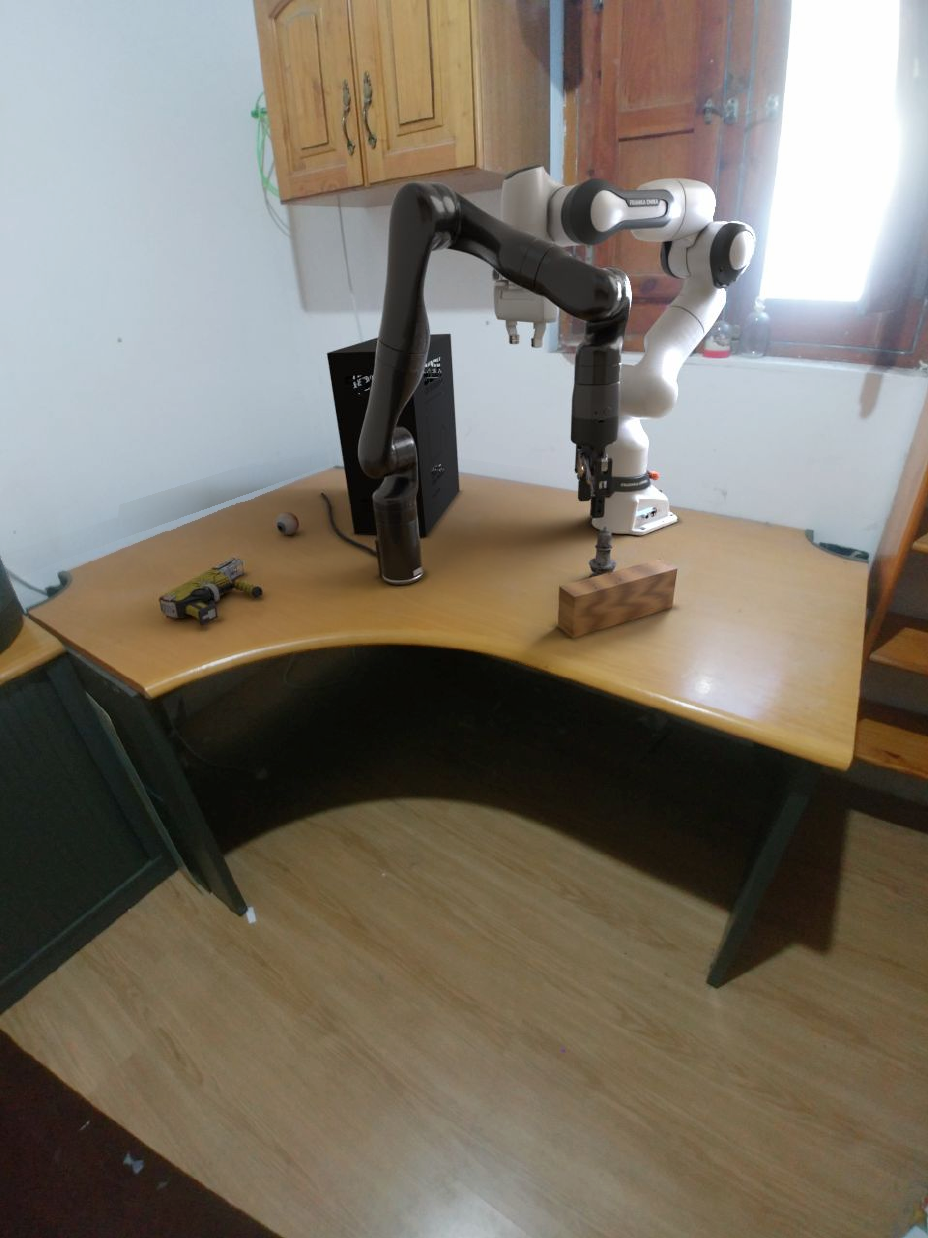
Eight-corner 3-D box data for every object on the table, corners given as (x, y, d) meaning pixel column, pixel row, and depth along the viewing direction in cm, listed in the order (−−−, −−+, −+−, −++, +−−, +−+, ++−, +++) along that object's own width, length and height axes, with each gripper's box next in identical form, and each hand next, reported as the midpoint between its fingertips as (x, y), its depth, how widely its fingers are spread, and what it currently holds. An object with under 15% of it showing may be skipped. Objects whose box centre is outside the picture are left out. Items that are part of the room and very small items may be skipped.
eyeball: (273, 537, 164) (268, 516, 161) (287, 528, 169) (282, 508, 166) (291, 539, 161) (286, 518, 158) (305, 530, 166) (301, 510, 163)
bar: (655, 597, 124) (659, 558, 120) (672, 607, 120) (677, 568, 116) (557, 626, 116) (559, 586, 112) (572, 638, 112) (574, 597, 108)
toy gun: (284, 566, 139) (229, 555, 143) (214, 612, 119) (152, 597, 123) (286, 584, 141) (232, 573, 145) (217, 632, 121) (157, 617, 125)
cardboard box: (426, 536, 158) (409, 350, 136) (354, 533, 163) (326, 352, 140) (459, 490, 190) (450, 333, 167) (398, 489, 194) (381, 336, 172)
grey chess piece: (615, 584, 129) (619, 532, 123) (587, 583, 131) (590, 531, 125) (615, 572, 134) (619, 521, 128) (588, 571, 135) (591, 520, 129)
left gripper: (562, 405, 102) (560, 497, 110) (583, 422, 90) (578, 525, 98) (605, 401, 103) (600, 494, 111) (632, 418, 90) (624, 521, 98)
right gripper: (567, 266, 111) (565, 347, 118) (514, 268, 127) (515, 340, 134) (537, 268, 109) (537, 351, 116) (487, 270, 125) (489, 343, 132)
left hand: (590, 508), depth 104 cm, fingers open, 8 cm apart
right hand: (525, 345), depth 125 cm, fingers open, 8 cm apart
